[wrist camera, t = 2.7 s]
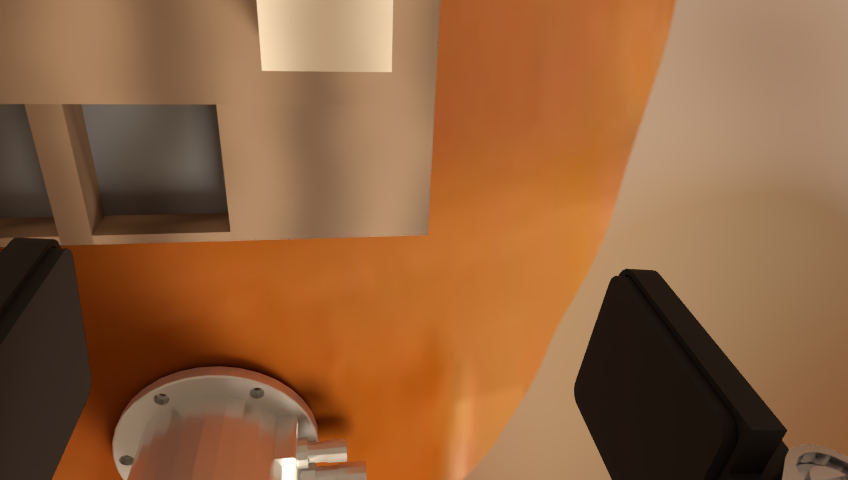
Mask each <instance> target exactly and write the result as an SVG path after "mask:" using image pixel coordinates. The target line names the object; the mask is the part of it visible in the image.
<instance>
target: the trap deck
mask: <svg viewBox="0 0 848 480" xmlns="http://www.w3.org/2000/svg"><path fill="white" fill-rule="evenodd" d="M439 16H440V0H393V36H392V72H319V71H262V66H261V53H260V40H259V27H258V14H257V0H0V247H6V246H7V245H8V244H9V242H10V241H11V240H12V239H14V238H17V237H22V238H41V239H55V240H57V241H58V242H59V244H60V246H68V245H102V244H137V243H172V242H207V241H242V240H277V239H312V238H347V237H382V236H416V235H428V221H429V202H430V183H431V165H432V146H433V128H434V109H435V91H436V72H437V54H438V35H439Z"/></svg>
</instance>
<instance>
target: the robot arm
mask: <svg viewBox="0 0 848 480" xmlns="http://www.w3.org/2000/svg"><path fill="white" fill-rule="evenodd" d="M90 387H91V372H90V365H89V359H88V352H87V346H86V339H85V332H84V326H83V319H82V312H81V306H80V299H79V292H78V286H77V279H76V273H75V266H74V259H73V255H72V252H71V250H69V249H61V246H60V244H59V242H58V241H57V240H55V239H41V238H22V237H17V238H14V239H12V240H11V241H10V242H9V244H8V245H7V246H6V247H5V248H4V249H3V251H2V252H1V253H0V480H52V477H53V475H54V473H55V471H56V468H57V466H58V464H59V462H60V460H61V457H62V455H63V453H64V451H65V448H66V446H67V444H68V442H69V439H70V437H71V435H72V433H73V430H74V428H75V426H76V424H77V421H78V419H79V417H80V415H81V413H82V410H83V408H84V406H85V404H86V401H87V399H88V396H89V393H90ZM574 396H575V400H576V403H577V406H578V408H579V410H580V412H581V414H582V416H583V419H584V421H585V423H586V425H587V427H588V429H589V431H590V434H591V436H592V438H593V440H594V442H595V444H596V446H597V449H598V451H599V453H600V455H601V457H602V459H603V461H604V464H605V466H606V468H607V470H608V472H609V474H610V476H611V479H612V480H848V457H846V456H845V455H843V454H841V453H839V452H836V451H833V450H831V449H828V448H825V447H822V446H816V445H810V444H807V445H797V446H795V447H793V448H792V449H790V450H789V449H788V448H787V446H786V445H785V444H784V442H783V441H782V438H783V437H784V435H785V433H786V432H787V429H786V428H785V427H784V426H783V425H782V423H781V422H780V421H779V420H778V418H777V417H776V416H775V415H774V414H773V412H772V411H771V410H770V409H769V408H768V406H767V405H766V404H765V403H764V401H763V400H762V399H761V398H760V396H759V395H758V394H757V393H756V392H755V390H754V389H753V388H752V387H751V385H750V384H749V383H748V382H747V381H746V379H745V378H744V377H743V376H742V374H741V373H740V372H739V371H738V370H737V368H736V367H735V366H734V365H733V364H732V362H731V361H730V360H729V359H728V357H727V356H726V355H725V354H724V353H723V351H722V350H721V349H720V348H719V346H718V345H717V344H716V343H715V341H714V340H713V339H712V338H711V337H710V336H709V334H708V333H707V332H706V331H705V329H704V328H703V327H702V326H701V324H700V323H699V322H698V321H697V320H696V318H695V317H694V316H693V315H692V313H691V312H690V311H689V310H688V309H687V307H686V306H685V305H684V304H683V302H682V301H681V300H680V299H679V298H678V296H677V295H676V294H675V293H674V291H673V290H672V289H671V288H670V287H669V285H668V284H667V283H666V282H665V280H664V279H663V278H662V277H661V276H660V274H659V273H657V272H656V271H653V270H636V269H625V270H623V271H622V272H621V273H620V274H619V276H615V277H613V278H612V279H611V281H610V283H609V286H608V289H607V291H606V294H605V297H604V300H603V303H602V306H601V309H600V312H599V315H598V318H597V321H596V323H595V326H594V329H593V332H592V335H591V338H590V341H589V344H588V347H587V350H586V353H585V356H584V359H583V361H582V364H581V367H580V370H579V373H578V376H577V379H576V382H575V387H574ZM112 450H113V459H114V462H115V465H116V468H117V470H118V472H119V474H120V475H121V477H122V478H123V480H366V464H365V461H357V462H345V463H338V465H329V466H316V462H327V463H329V462H342V461H347V444H346V439H334V440H326V441H321V442H319V435H318V427H317V423H316V421H315V418H314V416H313V413H312V411H311V410H310V408H309V407H308V406H307V404H306V403H305V401H304V400H303V399H302V398H301V397H300V396H299V395H298V394H296V393H295V392H294V391H293V390H292V389H291V388H289V387H288V386H286V385H284V384H283V383H281V382H279V381H278V380H276V379H274V378H271V377H269V376H266V375H264V374H261V373H259V372H254V371H250V370H246V369H242V368H234V367H222V366H215V367H198V368H194V369H189V370H184V371H179V372H176V373H174V374H171V375H168V376H166V377H163V378H160V379H159V380H157V381H155V382H153V383H152V384H150V385H148V386H147V387H145V388H144V389H143V390H141V391H140V392H139V393H138V394H137V395H136V396H135V397H134V398H132V399H131V401H130V402H129V403H128V405H127V406H126V408H125V409H124V410H123V412H122V414H121V417H120V419H119V421H118V424H117V426H116V429H115V433H114V437H113V441H112Z"/></svg>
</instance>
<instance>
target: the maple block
mask: <svg viewBox="0 0 848 480" xmlns="http://www.w3.org/2000/svg"><path fill="white" fill-rule="evenodd" d="M257 14H258V27H259V40H260V53H261V66H262V71H319V72H392V36H393V0H257Z"/></svg>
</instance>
